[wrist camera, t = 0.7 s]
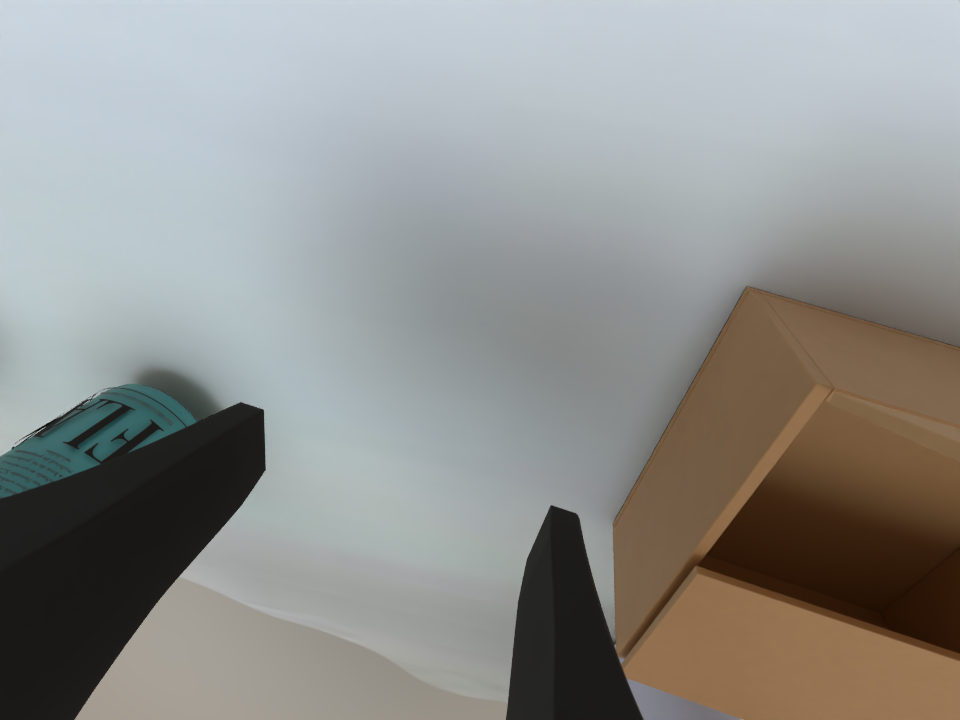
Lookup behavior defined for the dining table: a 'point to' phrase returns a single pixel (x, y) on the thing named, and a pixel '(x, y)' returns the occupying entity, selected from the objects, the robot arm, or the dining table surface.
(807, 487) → the carton
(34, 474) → the beverage bottle
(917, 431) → the flap
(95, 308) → the dining table surface
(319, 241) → the dining table surface
